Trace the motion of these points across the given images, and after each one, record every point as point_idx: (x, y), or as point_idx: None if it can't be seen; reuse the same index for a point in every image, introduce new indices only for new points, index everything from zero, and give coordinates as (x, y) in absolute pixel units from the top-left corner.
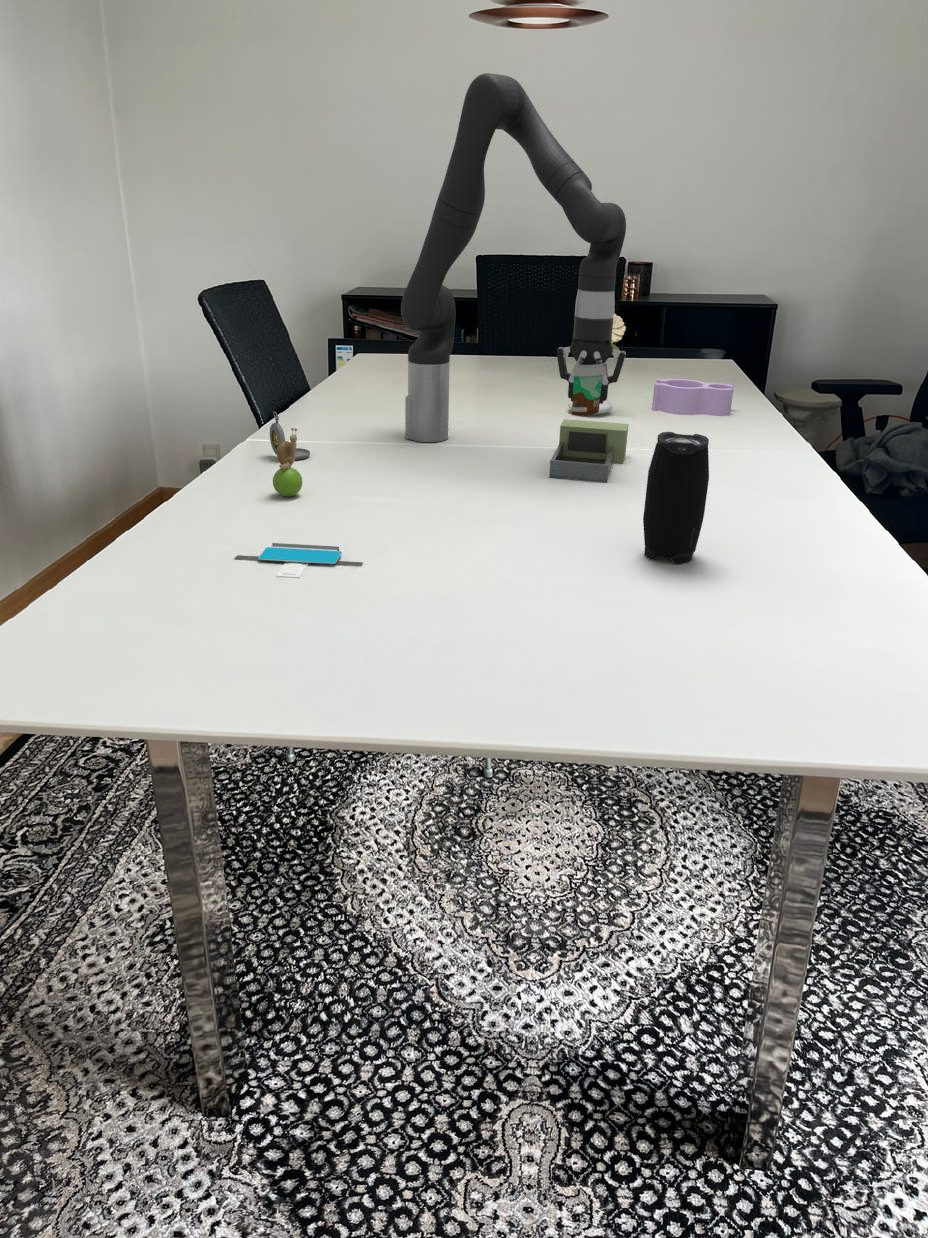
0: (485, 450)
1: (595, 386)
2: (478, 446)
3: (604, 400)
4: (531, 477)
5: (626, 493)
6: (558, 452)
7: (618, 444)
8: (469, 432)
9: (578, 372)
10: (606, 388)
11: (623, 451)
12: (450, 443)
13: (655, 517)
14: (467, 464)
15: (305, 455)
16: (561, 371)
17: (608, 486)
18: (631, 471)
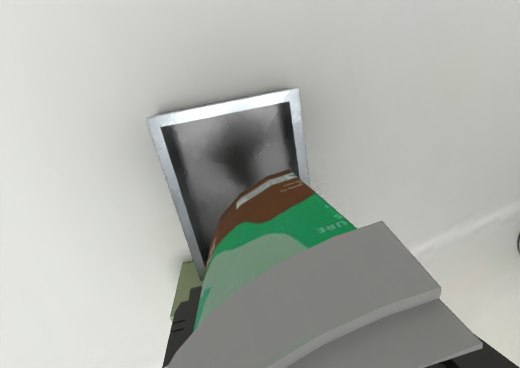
0: (446, 210)
1: (204, 299)
2: (461, 227)
3: (185, 301)
4: (324, 70)
5: (77, 47)
6: (299, 172)
7: (191, 286)
8: (484, 293)
9: (353, 264)
10: (170, 354)
11: (181, 279)
12: (511, 219)
13: None
14: (469, 100)
15: None
16: (484, 356)
17: (141, 86)
18: (145, 222)
